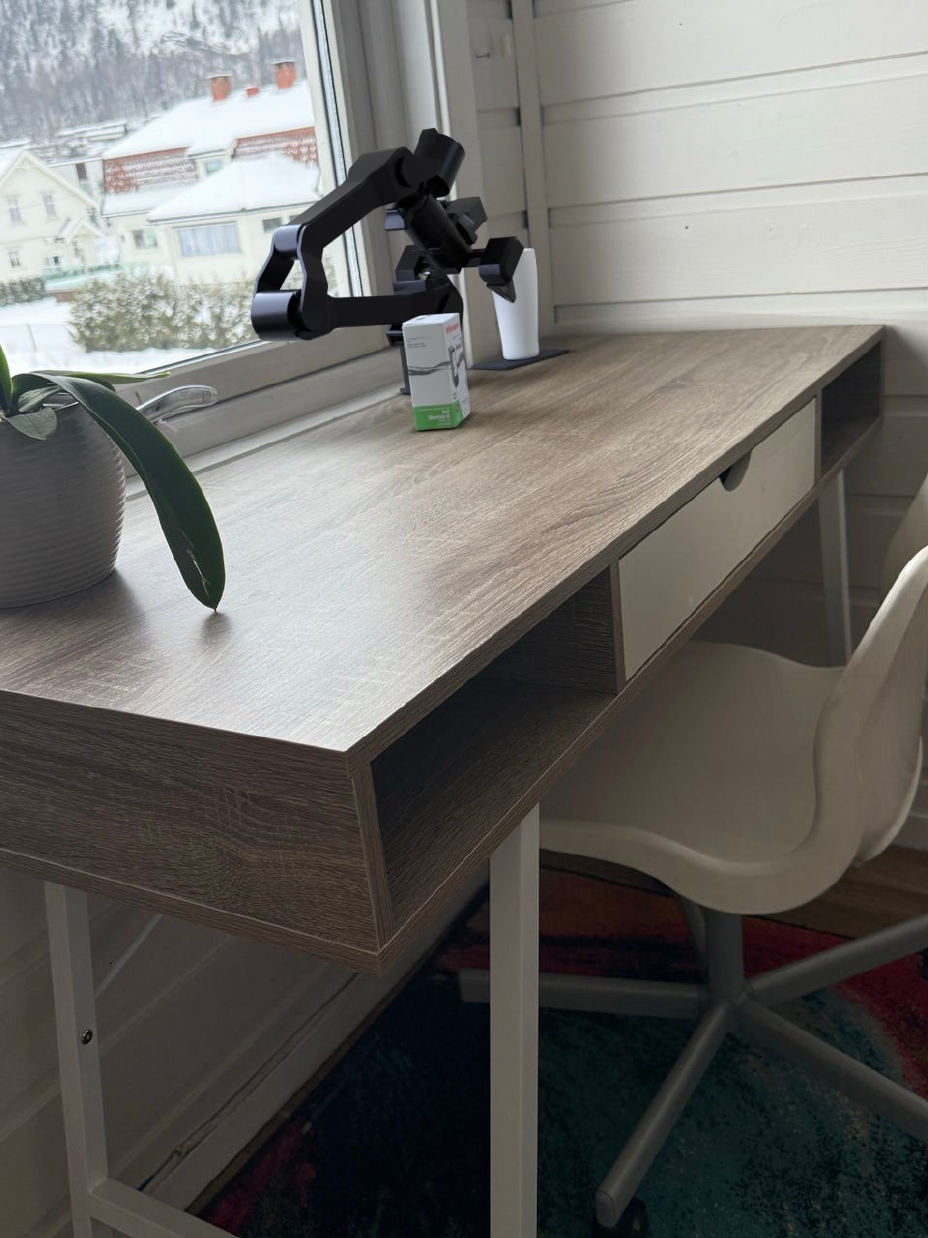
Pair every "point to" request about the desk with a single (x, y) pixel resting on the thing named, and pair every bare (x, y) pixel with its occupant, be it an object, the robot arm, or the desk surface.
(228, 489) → the desk surface
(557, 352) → the mat
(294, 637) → the desk surface
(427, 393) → the ink box
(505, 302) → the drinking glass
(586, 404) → the desk surface
